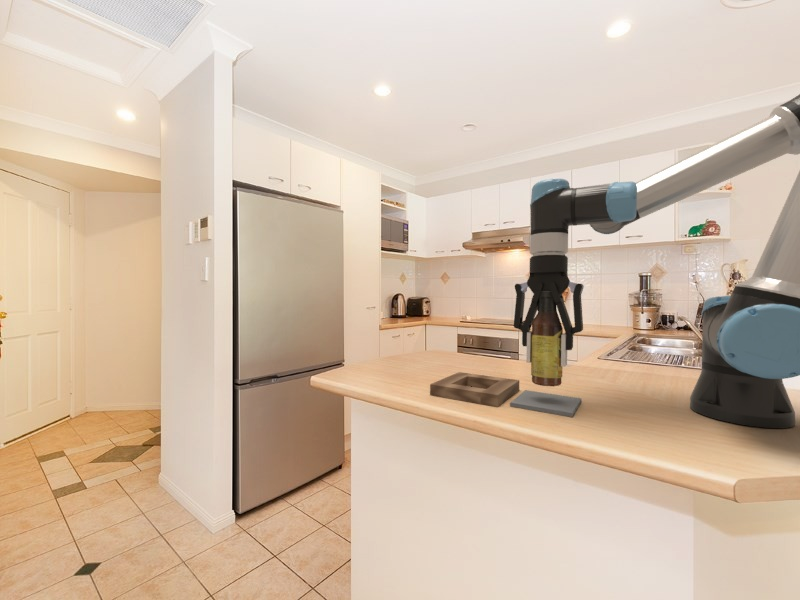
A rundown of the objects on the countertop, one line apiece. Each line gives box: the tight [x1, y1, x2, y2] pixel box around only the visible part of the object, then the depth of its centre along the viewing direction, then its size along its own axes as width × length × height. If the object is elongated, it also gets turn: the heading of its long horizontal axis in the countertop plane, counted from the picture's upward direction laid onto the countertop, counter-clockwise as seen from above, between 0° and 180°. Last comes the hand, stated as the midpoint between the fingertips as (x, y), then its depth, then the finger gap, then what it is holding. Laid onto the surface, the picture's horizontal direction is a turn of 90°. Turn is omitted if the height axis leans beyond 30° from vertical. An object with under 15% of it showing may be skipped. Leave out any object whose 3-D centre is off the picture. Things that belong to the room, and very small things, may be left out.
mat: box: [509, 389, 582, 418], centre depth 79 cm, size 12×12×1 cm
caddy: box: [429, 371, 520, 408], centre depth 88 cm, size 16×16×2 cm
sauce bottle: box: [530, 291, 564, 387], centre depth 79 cm, size 6×6×20 cm
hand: (546, 363), depth 79 cm, fingers closed on sauce bottle, 6 cm apart
